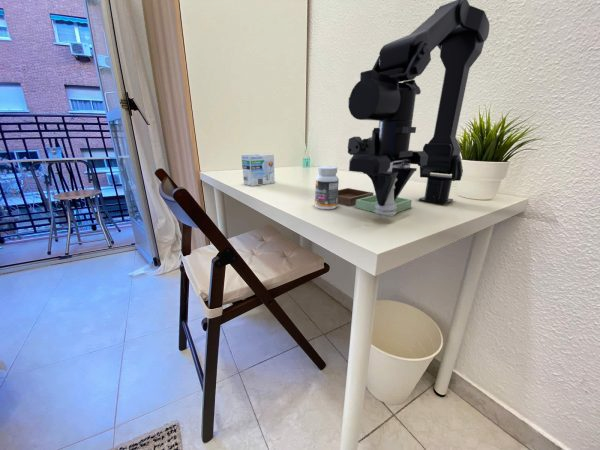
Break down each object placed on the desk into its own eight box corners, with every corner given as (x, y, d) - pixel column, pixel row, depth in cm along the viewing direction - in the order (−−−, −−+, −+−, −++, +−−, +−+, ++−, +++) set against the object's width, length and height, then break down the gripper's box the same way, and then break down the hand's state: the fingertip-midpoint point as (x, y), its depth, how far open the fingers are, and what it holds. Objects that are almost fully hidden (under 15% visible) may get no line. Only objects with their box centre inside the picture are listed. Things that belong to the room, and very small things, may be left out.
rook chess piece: (379, 209, 54) (382, 172, 51) (399, 212, 51) (404, 174, 48) (370, 214, 50) (373, 175, 48) (391, 218, 48) (396, 177, 45)
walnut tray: (347, 194, 75) (347, 187, 75) (373, 199, 69) (373, 192, 68) (324, 199, 69) (324, 192, 69) (349, 206, 63) (350, 198, 62)
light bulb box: (252, 186, 89) (250, 155, 86) (242, 184, 94) (240, 155, 90) (275, 182, 96) (274, 154, 92) (265, 180, 101) (264, 153, 97)
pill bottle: (310, 206, 63) (310, 167, 59) (326, 202, 66) (327, 165, 63) (326, 211, 58) (327, 169, 55) (342, 206, 62) (344, 167, 59)
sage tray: (378, 200, 67) (379, 193, 67) (410, 207, 61) (412, 199, 60) (355, 207, 61) (355, 199, 61) (388, 215, 55) (389, 207, 54)
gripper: (384, 124, 56) (378, 191, 61) (328, 122, 45) (326, 204, 50) (434, 121, 48) (422, 199, 53) (381, 118, 37) (372, 217, 42)
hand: (386, 203), depth 50 cm, fingers closed on rook chess piece, 3 cm apart
